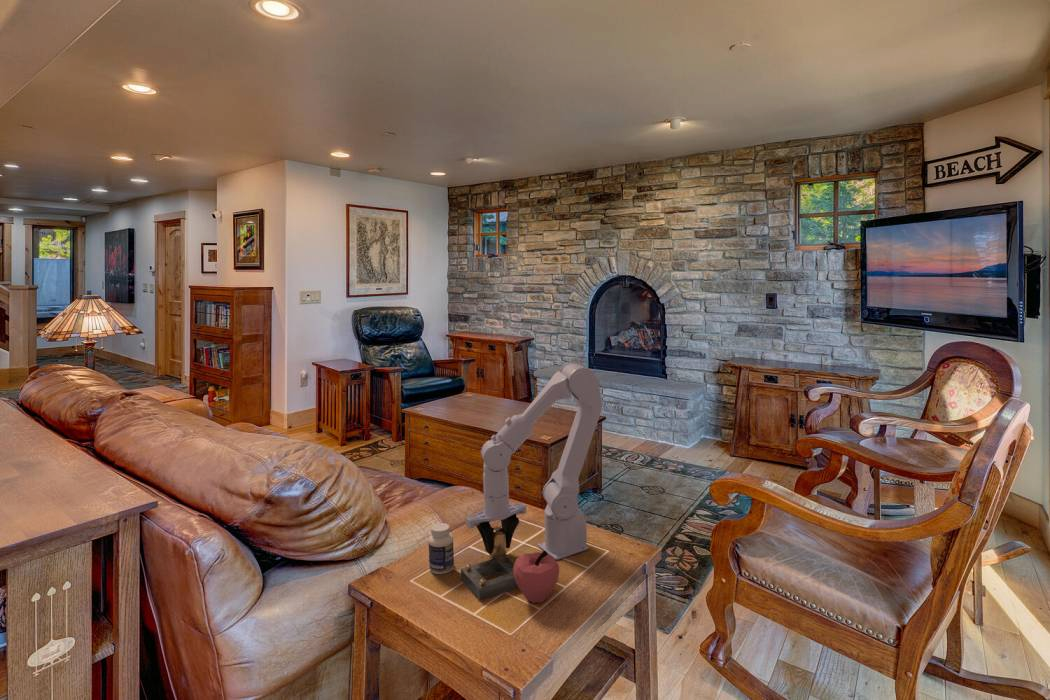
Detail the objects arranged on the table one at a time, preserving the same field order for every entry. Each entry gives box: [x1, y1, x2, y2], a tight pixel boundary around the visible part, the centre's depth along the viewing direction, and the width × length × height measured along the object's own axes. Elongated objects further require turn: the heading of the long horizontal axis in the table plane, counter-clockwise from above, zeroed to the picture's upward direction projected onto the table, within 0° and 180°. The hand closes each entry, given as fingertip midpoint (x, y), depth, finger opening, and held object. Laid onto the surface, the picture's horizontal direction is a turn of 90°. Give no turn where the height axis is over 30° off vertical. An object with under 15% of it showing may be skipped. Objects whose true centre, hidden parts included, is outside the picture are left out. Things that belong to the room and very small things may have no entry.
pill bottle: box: [428, 522, 455, 575], centre depth 122 cm, size 5×5×10 cm
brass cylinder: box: [488, 526, 508, 560], centre depth 127 cm, size 4×4×6 cm
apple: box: [513, 550, 560, 604], centre depth 110 cm, size 10×9×10 cm
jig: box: [460, 555, 519, 601], centre depth 116 cm, size 11×9×4 cm
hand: (497, 549), depth 127 cm, fingers closed on brass cylinder, 4 cm apart
